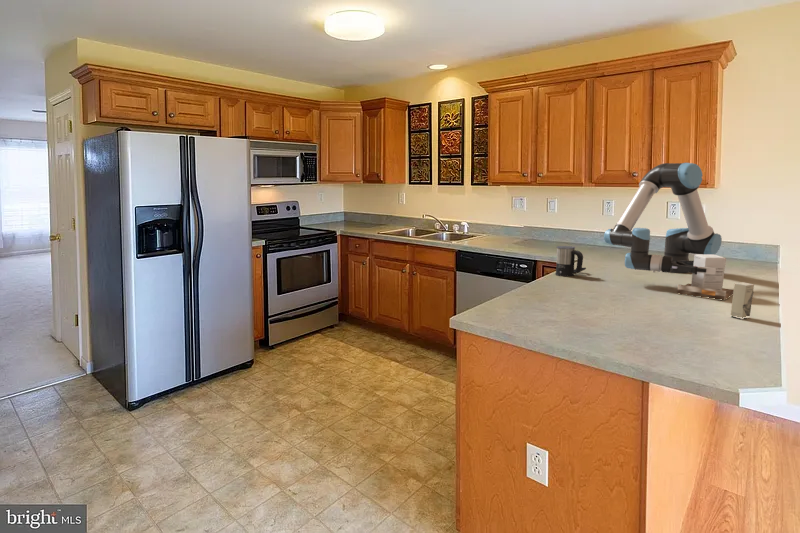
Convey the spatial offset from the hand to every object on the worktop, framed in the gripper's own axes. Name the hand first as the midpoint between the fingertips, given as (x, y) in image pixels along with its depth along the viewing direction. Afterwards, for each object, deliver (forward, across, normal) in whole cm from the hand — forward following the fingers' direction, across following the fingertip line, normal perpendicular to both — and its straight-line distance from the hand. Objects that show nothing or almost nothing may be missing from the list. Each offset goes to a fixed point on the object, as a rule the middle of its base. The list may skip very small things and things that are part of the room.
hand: (716, 268), depth 218 cm
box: (+10, +36, -12) cm, 39 cm away
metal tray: (-3, +1, -12) cm, 12 cm away
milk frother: (-65, -10, -12) cm, 67 cm away
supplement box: (-3, 0, -10) cm, 10 cm away
